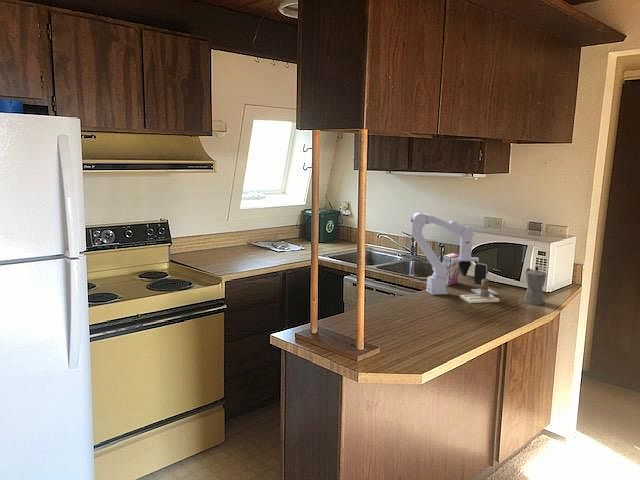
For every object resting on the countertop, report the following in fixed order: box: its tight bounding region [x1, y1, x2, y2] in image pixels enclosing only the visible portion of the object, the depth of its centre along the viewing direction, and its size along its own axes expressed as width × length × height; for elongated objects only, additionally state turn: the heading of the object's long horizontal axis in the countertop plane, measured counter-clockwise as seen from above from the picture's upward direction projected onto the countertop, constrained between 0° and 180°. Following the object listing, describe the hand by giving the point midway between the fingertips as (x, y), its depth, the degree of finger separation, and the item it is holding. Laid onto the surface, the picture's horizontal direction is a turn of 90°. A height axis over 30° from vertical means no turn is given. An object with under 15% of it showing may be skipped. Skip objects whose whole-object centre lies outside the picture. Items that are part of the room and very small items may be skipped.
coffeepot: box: [523, 266, 547, 306], centre depth 257 cm, size 15×9×18 cm, turn 8°
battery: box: [473, 262, 489, 285], centre depth 291 cm, size 7×4×11 cm, turn 45°
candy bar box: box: [442, 253, 460, 287], centre depth 288 cm, size 11×5×16 cm, turn 141°
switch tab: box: [480, 290, 489, 297], centre depth 260 cm, size 3×3×3 cm
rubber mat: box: [470, 288, 499, 296], centre depth 273 cm, size 10×10×1 cm
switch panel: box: [459, 293, 500, 304], centre depth 260 cm, size 16×10×2 cm, turn 102°
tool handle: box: [480, 278, 490, 290], centre depth 272 cm, size 4×4×6 cm
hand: (464, 275), depth 269 cm, fingers closed
